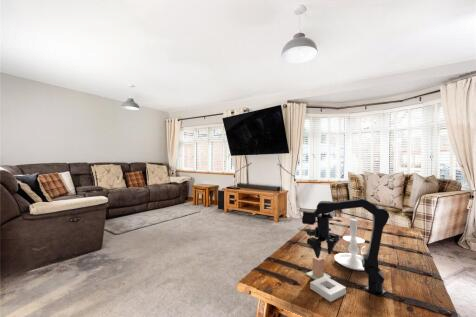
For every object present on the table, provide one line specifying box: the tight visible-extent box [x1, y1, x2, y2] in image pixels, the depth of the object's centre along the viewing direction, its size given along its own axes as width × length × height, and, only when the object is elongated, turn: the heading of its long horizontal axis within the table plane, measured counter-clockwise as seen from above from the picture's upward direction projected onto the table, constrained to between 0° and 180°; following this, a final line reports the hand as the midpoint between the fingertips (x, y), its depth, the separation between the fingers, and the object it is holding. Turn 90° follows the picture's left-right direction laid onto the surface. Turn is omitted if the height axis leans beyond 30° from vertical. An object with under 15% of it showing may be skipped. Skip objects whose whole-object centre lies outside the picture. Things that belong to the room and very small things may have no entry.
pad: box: [305, 270, 332, 280], centre depth 111 cm, size 9×9×1 cm
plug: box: [312, 255, 325, 278], centre depth 111 cm, size 4×4×9 cm
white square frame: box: [309, 276, 347, 303], centre depth 98 cm, size 11×11×3 cm
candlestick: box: [333, 217, 367, 271], centre depth 123 cm, size 21×25×28 cm
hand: (323, 256), depth 109 cm, fingers open, 9 cm apart
